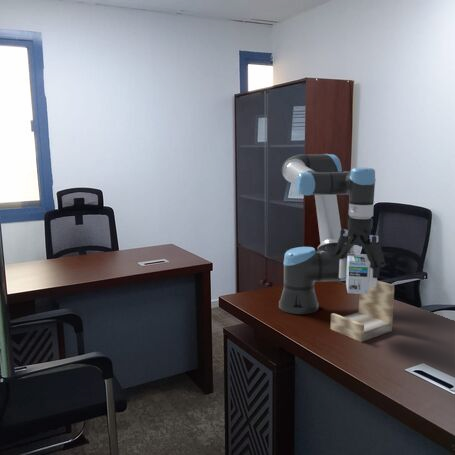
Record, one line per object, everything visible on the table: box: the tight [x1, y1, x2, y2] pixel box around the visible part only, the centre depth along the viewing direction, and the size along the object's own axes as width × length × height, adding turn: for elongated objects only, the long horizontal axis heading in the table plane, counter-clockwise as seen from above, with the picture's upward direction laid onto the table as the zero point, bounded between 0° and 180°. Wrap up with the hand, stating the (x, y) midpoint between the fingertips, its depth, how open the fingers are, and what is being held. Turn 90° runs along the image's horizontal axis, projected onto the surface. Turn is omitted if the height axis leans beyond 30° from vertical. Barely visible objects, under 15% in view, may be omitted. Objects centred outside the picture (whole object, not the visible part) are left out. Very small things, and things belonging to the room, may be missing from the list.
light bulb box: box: [345, 253, 371, 295], centre depth 150 cm, size 11×7×11 cm, turn 169°
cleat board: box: [330, 277, 395, 343], centre depth 154 cm, size 13×16×16 cm
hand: (357, 282), depth 150 cm, fingers closed on light bulb box, 12 cm apart
